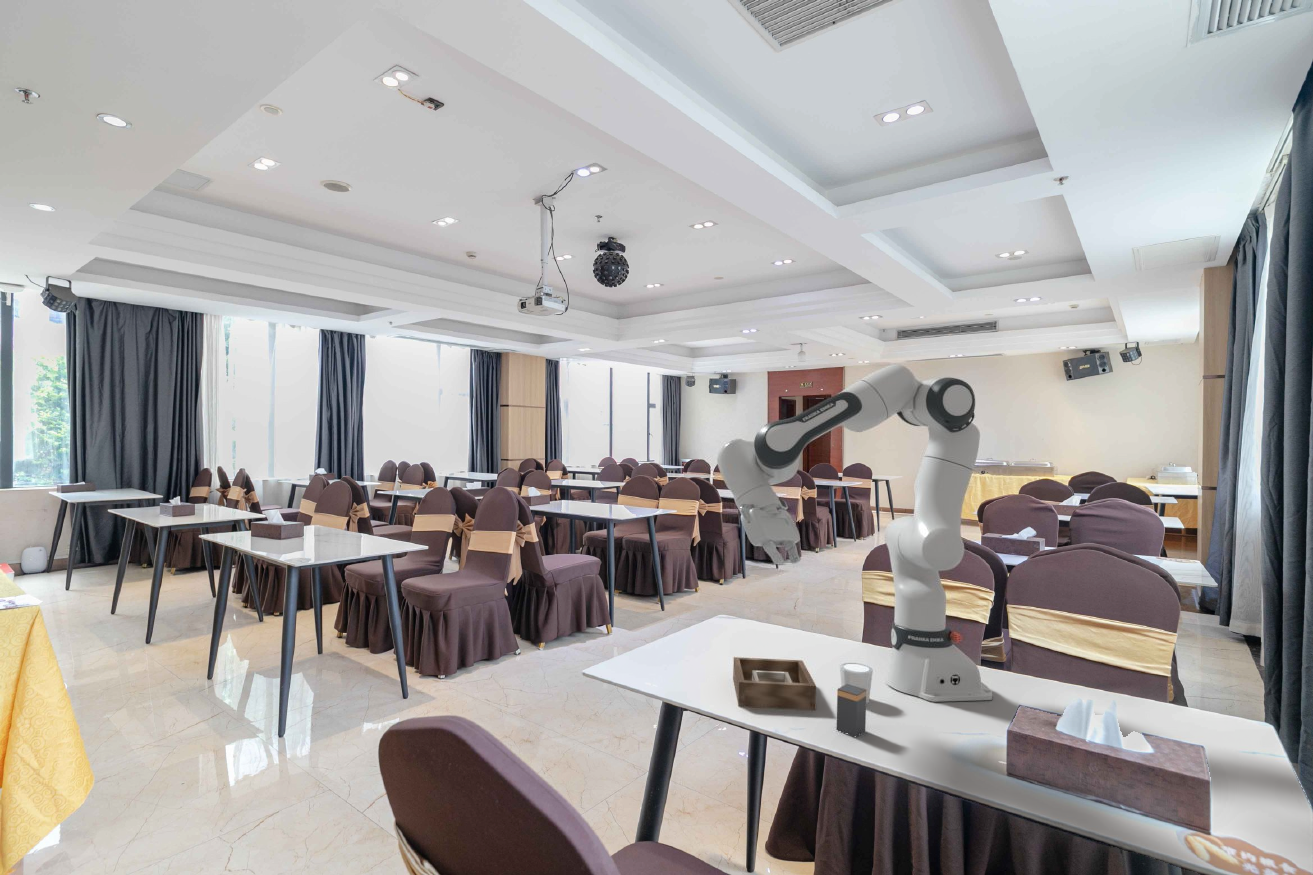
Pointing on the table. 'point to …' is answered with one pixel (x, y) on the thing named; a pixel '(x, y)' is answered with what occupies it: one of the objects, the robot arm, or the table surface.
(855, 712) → the dark grey banded block
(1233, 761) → the table surface
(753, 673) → the walnut box
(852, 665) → the white cup
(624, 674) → the table surface
